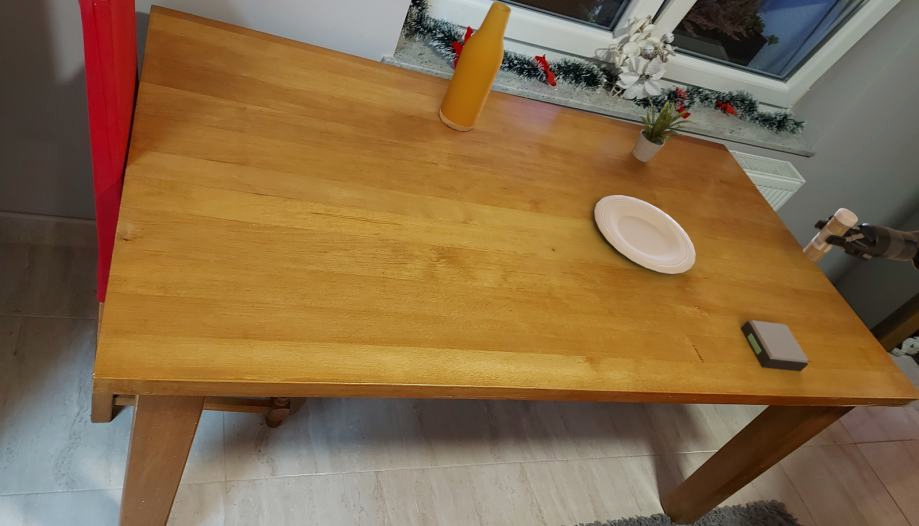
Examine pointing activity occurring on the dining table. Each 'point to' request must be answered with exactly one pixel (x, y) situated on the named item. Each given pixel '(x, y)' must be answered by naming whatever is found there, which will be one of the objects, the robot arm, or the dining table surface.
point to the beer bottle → (477, 69)
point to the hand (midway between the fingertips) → (823, 231)
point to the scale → (774, 345)
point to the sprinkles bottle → (833, 227)
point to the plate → (644, 234)
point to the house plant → (656, 132)
